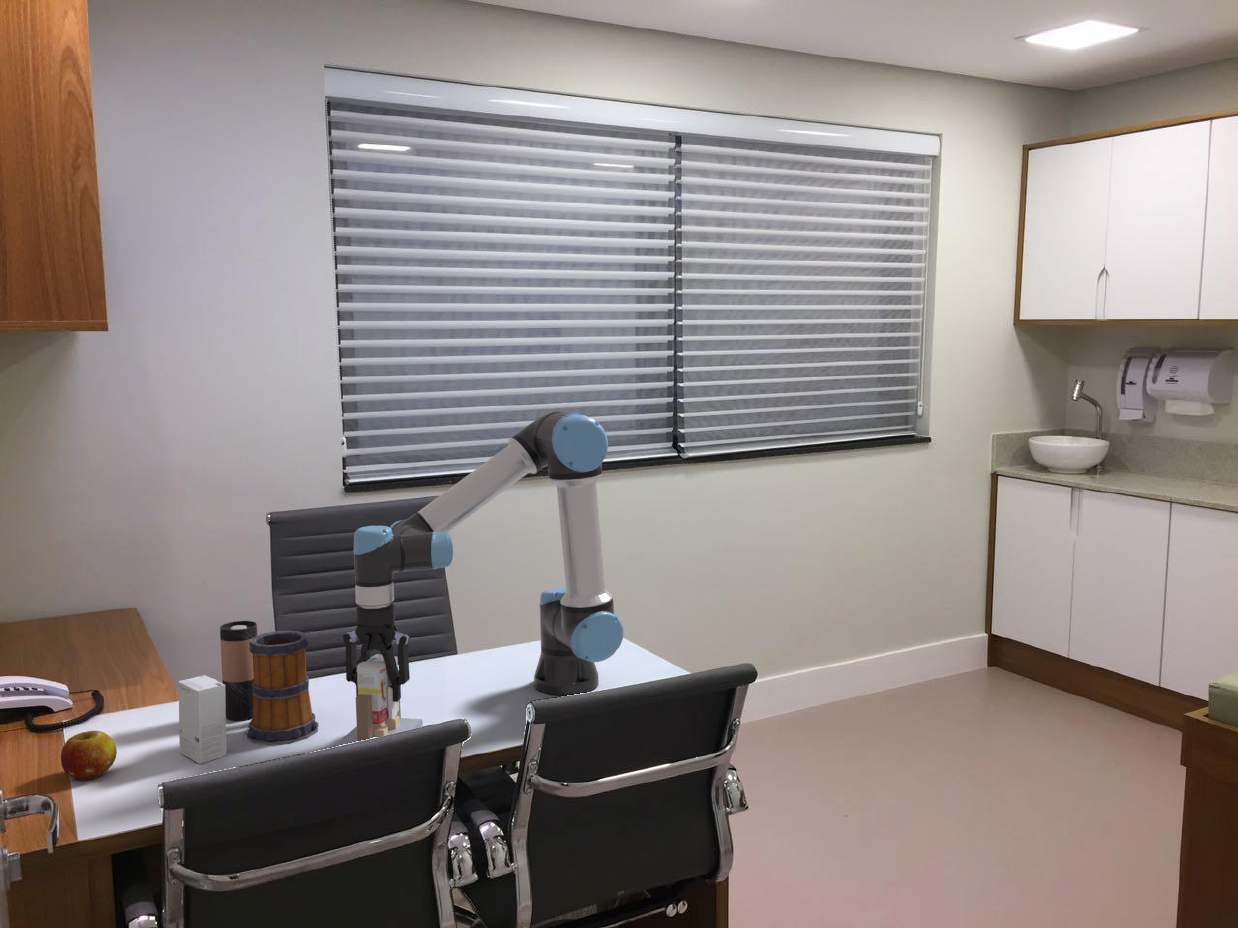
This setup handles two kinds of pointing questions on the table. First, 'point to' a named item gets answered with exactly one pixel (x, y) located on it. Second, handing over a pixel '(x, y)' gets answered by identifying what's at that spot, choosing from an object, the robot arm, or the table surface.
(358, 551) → the robot arm
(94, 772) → the fruit
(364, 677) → the ink box
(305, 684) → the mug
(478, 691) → the table surface
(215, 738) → the skincare box
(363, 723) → the peg cradle
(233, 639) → the travel mug
